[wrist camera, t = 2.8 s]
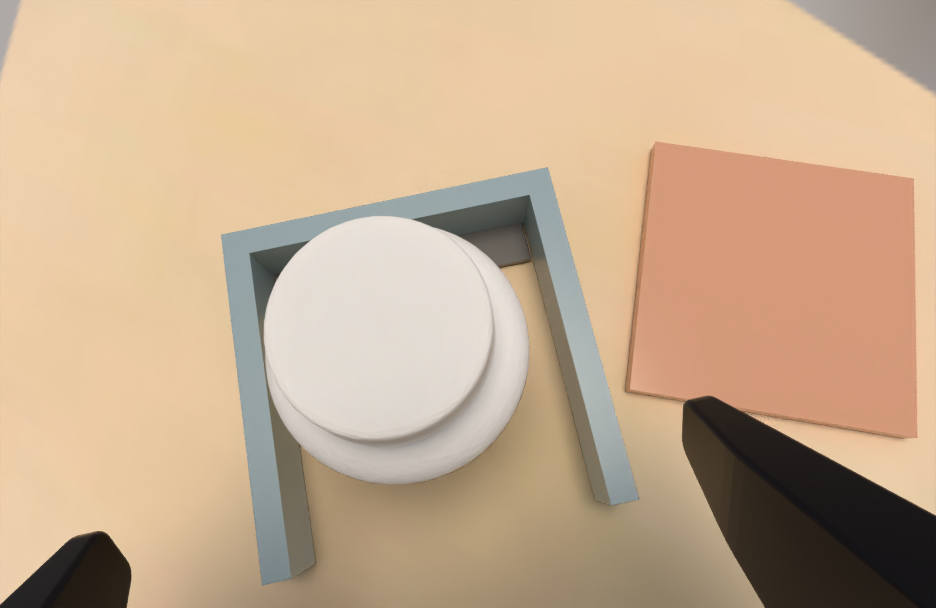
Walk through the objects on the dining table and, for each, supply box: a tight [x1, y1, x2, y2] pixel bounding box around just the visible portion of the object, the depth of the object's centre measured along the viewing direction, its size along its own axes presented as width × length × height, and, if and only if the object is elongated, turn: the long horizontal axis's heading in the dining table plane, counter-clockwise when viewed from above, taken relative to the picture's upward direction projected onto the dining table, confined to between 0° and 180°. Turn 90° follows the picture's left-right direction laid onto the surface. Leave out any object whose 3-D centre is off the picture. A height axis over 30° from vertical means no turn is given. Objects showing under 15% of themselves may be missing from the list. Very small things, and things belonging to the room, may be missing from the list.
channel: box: [221, 167, 639, 585], centre depth 19 cm, size 10×11×2 cm
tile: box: [626, 142, 917, 438], centre depth 20 cm, size 9×9×1 cm
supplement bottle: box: [264, 216, 529, 485], centre depth 15 cm, size 6×6×10 cm
